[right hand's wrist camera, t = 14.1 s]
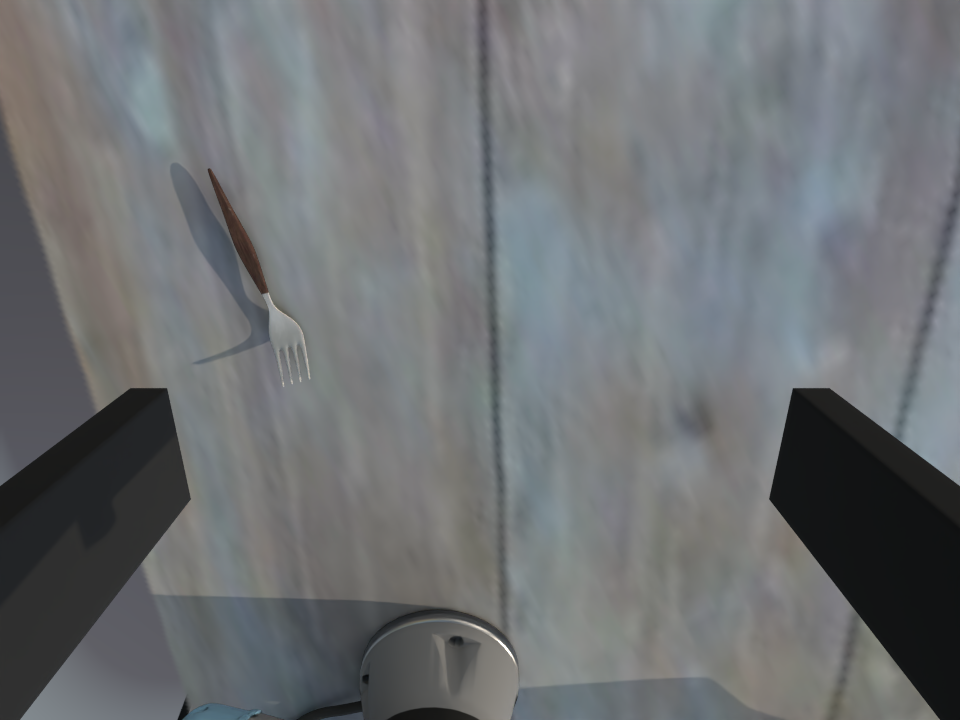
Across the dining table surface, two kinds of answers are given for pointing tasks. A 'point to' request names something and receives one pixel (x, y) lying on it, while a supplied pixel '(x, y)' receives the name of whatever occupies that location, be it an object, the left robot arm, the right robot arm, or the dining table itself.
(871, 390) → the dining table surface
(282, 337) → the fork
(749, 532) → the dining table surface
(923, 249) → the dining table surface
